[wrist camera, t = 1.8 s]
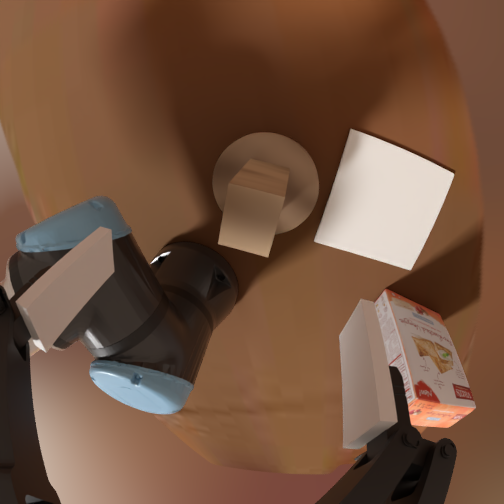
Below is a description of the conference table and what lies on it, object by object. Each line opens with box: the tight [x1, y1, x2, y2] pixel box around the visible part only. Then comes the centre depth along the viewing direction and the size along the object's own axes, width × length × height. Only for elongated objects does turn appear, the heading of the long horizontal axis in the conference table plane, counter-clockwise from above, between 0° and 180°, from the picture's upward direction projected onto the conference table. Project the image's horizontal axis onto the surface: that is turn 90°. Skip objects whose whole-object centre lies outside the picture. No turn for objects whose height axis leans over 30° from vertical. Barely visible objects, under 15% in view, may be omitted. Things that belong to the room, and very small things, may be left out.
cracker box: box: [374, 289, 476, 428], centre depth 33 cm, size 14×6×21 cm, turn 69°
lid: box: [212, 132, 319, 257], centre depth 25 cm, size 11×11×10 cm
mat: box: [314, 129, 454, 270], centre depth 34 cm, size 16×16×1 cm
